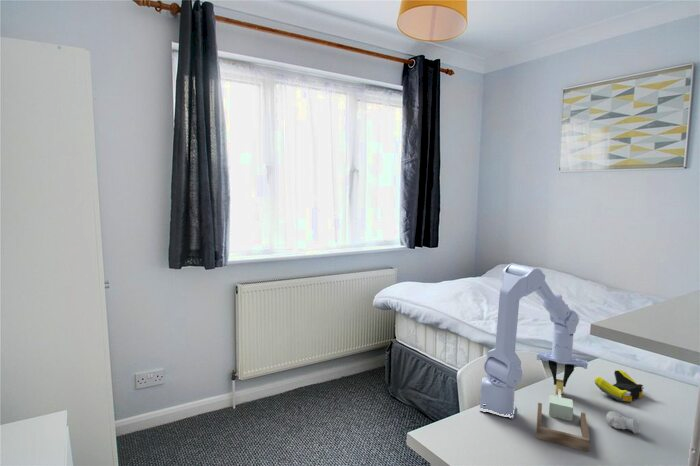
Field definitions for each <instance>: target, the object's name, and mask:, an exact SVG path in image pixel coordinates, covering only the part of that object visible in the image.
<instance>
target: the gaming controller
mask: <svg viewBox="0 0 700 466" xmlns="http://www.w3.org/2000/svg"><path fill="white" fill-rule="evenodd" d="M613 374H614V378H615V382H616V383H614V384H611V383H610V382H608V381H607V380H605V379H604V378H603V377H601V376H595V378H594V383H595V385H596V387H597V388H598V389H599V390H600V391H601V392H603V394H606V395H608V396H610V397H612V398H614V399H615V401H619V402H627V403H629V402H630V403H632V402H633V401H635V400H638V399H639V398H642V397H643V390H644V389H645V387H646V386H645V385H643V384H641V383H637V382H636V381H635V380H634V379H633V378H632V377H631V376H630V375H629V374H628V373H627V372H625V371H624V370H622V369H616V370H614V373H613Z"/></svg>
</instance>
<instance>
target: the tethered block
mask: <svg viewBox="0 0 700 466" xmlns="http://www.w3.org/2000/svg"><path fill="white" fill-rule="evenodd" d="M563 384H564V382H563V379H558V378H556V385H555V394H557V393H558V394H557V395H553V394H549V397H548V398H549V401H548V416H549V415H550V416H549V417H553V416H554V417H553V418H557V417H558V418H557V419H561V418H562V420H565V421H566V420H567V421H571V422H573V415H574V403H573V399H572V398H565V397H562V395H561V394H564V387H563Z"/></svg>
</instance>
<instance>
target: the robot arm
mask: <svg viewBox="0 0 700 466" xmlns="http://www.w3.org/2000/svg"><path fill="white" fill-rule="evenodd" d="M501 273H502V275H501V276H502V277H501V287H500V289H499V296H498V307H497V309H498V310H497V321H496V323H497V324H496V335H495V347H494V348H492V349H490V350H488V351H487V352H486V358H485V361H484V364H483V370H484V372H485V373H486V374H487V376H486V377H482V378H481V379H482V380H481V385H480V397H479V402H480V403H479V409H480V408H483V409H488V410H492V411H494V412H497V413H499V414H504V415H506V414H507V415H508V414H510V416H512V415H513V417H511V418H514V419H515V415H516V408H514V406H516V405H515V394H516V393H515V392H516V387H517V386H518V385H519V384H520V383H521V382H522V379H523V369H522V361H521V359H520V357H519V355H518V354H517V353H516V344H517V331H518V320H519V309H520V300H521V299H522V298H524V297H527V296H529V295H530V294H533V293H534V292H535V293H536V294H537V295H538V296H539V297H540V298H541V300H542V301H541V304H542V306H543V308H545V310H546V311H547V312H548V313H549V320H550V322H552V323H553V335H552V347H551V349H552V350H551V353H549V352H536V361H544V362H545V361H546V362H548V367H549V369H550V371H551V375H552V378H553V386H554V385H555V386H556V379H557V371H558V364H562V365H564V370H563V379H562V380H563V382H564V384H563V388H564V387H566V386H567V383H568V380H569V378H570V376H571V375H572V374H573V372H574V371H575V367H577V368H583V369H585V370H587V369H588V364H589V363H588V360H584V359H580V358H576V357H573V347H574V346H573V345H574V334H576V332H577V326H578V325H579V322H580V317H579V315H578V313H577V312H576V311H575V310H573V309H570V307H569V305H568V304H567V303H566V302H565V301H564V300H563V296H562V294H558V293H555V292H553V291H552V289H551V288H550V286H549V285H548V283H547V281H546V275H545V273H543V271H542V269H541V268H539V267H537V268H536V267H531V266H526V265H522V264H518V263H513V262H512V263H509V264H507V266H506V267H505V268H503V270H502V272H501ZM566 388H567V387H566ZM483 404H486V405H483ZM513 410H515V411H514V414H515V415H514V414H513ZM511 413H512V414H511Z"/></svg>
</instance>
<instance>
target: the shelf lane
mask: <svg viewBox="0 0 700 466" xmlns="http://www.w3.org/2000/svg"><path fill="white" fill-rule="evenodd" d="M542 409H543V403H541V402H537V414H536V415H537V417H536V433H535V434H536V435H535V438H536V439H539V440H541V439H542V441H545V442H549V443H552V444H553V443H554V444H557V445H561V446H565V447H568V448H572V449H576V450H580V451H583V452H584V451H585V452H590V451H589V450H590V436H589V429H588V424H587V418H586V413H585V412H580V420H579V423H580V430H581V436H580V435H576V434H571V433H568V432H564V431H560V430H556V429H552V428H548V427H546V426H542V415H543V410H542Z"/></svg>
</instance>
